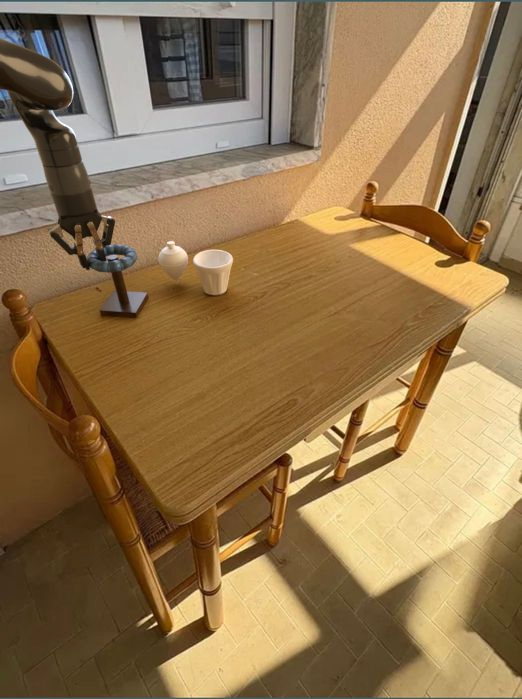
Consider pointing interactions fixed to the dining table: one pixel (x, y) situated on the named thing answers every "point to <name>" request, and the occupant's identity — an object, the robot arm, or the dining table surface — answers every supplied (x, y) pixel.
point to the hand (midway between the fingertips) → (94, 266)
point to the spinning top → (173, 261)
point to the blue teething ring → (113, 265)
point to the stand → (122, 298)
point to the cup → (213, 270)
